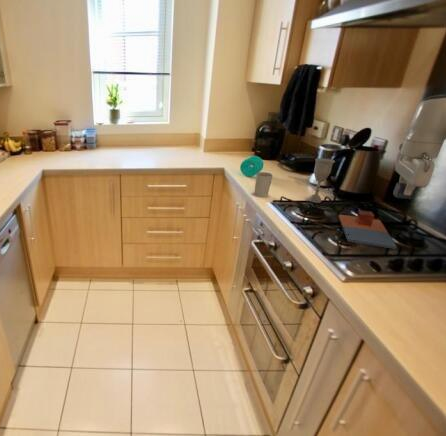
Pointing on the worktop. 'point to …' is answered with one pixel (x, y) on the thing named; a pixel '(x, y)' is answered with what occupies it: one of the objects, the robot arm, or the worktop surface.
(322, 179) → the chalice
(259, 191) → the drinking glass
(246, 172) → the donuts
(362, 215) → the terracotta block
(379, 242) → the board
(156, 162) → the worktop surface
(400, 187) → the slate block
